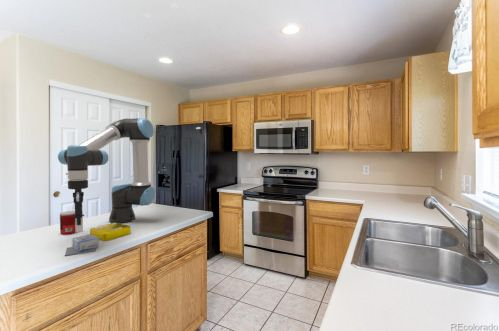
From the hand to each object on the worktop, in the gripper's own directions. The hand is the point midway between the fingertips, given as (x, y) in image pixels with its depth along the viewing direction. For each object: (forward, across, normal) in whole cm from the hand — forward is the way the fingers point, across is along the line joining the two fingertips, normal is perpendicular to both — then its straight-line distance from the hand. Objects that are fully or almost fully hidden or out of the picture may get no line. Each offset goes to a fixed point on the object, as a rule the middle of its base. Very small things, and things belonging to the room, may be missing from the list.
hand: (79, 231), depth 114 cm
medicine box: (+5, -3, +1) cm, 6 cm away
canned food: (+8, -30, -6) cm, 32 cm away
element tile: (+9, -15, +13) cm, 22 cm away
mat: (+8, +2, +1) cm, 8 cm away
